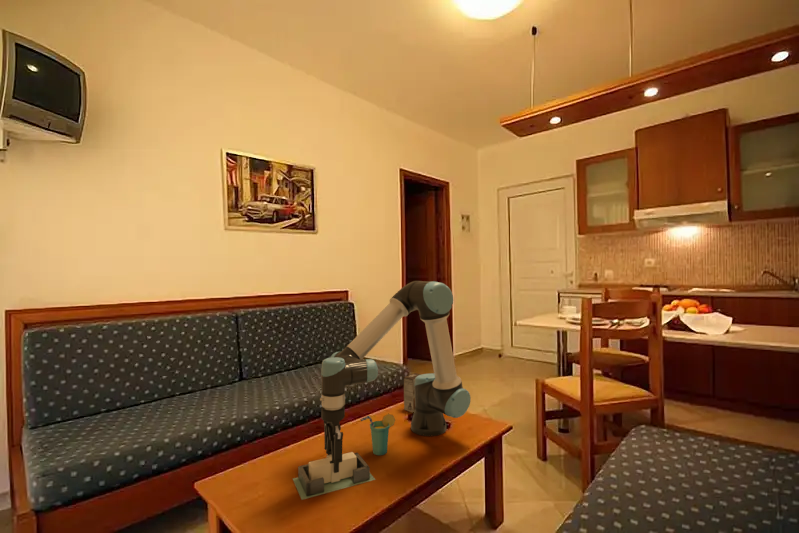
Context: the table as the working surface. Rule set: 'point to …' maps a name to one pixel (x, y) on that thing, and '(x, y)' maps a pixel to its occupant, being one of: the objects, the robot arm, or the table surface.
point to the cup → (380, 433)
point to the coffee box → (409, 392)
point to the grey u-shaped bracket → (360, 471)
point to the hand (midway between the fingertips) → (333, 477)
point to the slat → (324, 467)
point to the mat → (329, 486)
